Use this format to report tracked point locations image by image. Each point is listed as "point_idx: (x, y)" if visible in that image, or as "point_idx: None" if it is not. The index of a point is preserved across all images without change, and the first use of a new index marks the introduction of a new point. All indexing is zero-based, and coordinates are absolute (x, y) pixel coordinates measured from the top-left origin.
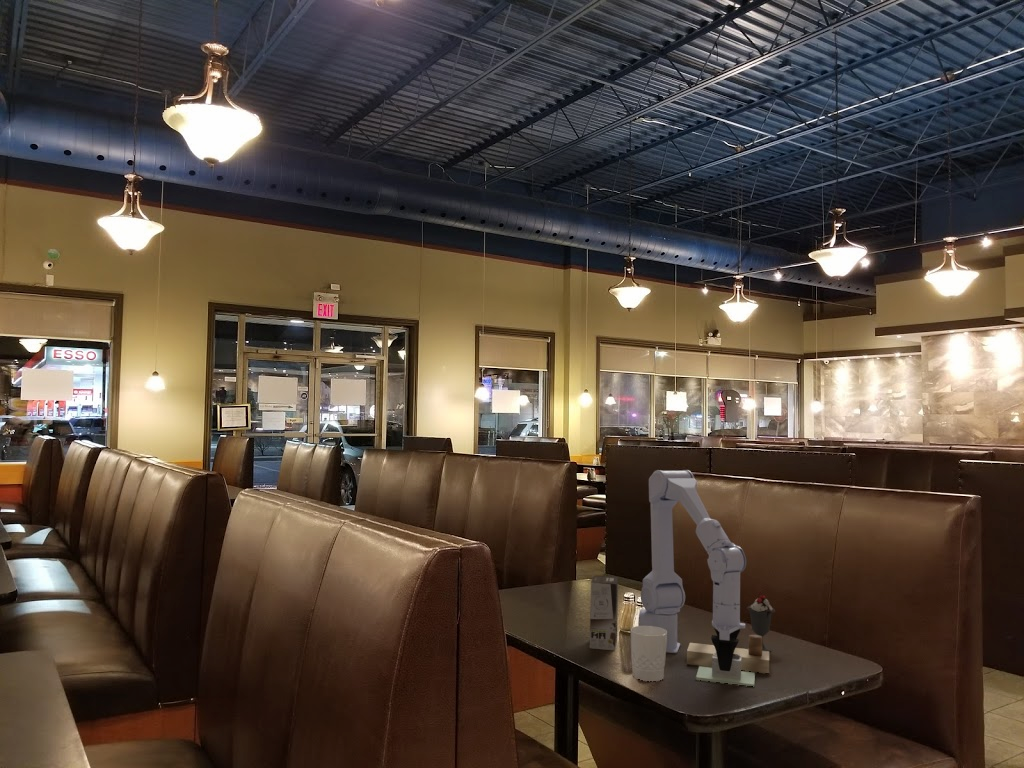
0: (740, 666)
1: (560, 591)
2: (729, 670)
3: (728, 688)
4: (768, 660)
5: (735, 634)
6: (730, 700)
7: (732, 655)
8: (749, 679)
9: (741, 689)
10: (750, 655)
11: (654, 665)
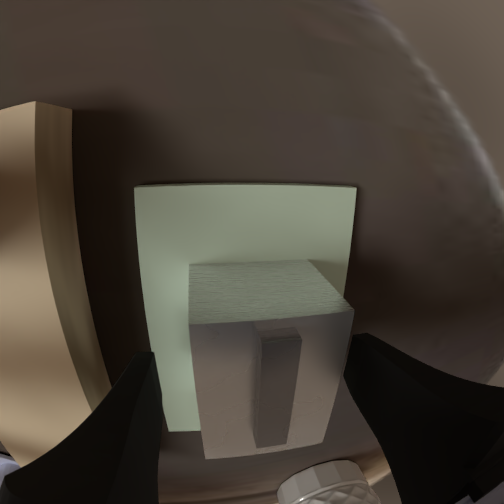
0: (338, 294)
1: None
2: (370, 336)
3: (384, 296)
4: (35, 106)
5: (119, 497)
6: (477, 271)
7: (443, 373)
8: (279, 213)
9: (386, 244)
10: None
11: (376, 494)
